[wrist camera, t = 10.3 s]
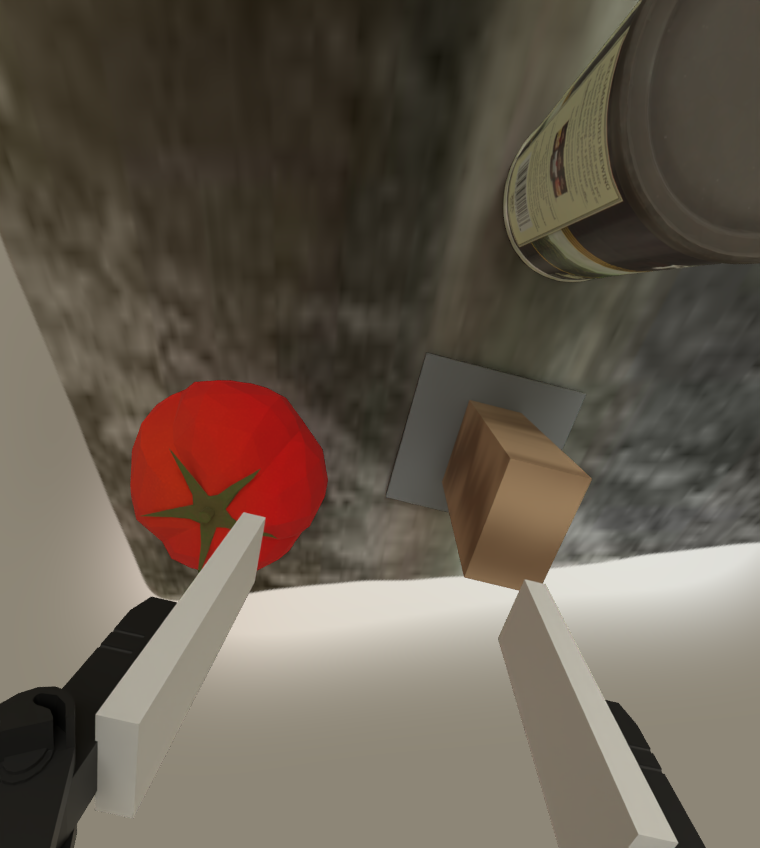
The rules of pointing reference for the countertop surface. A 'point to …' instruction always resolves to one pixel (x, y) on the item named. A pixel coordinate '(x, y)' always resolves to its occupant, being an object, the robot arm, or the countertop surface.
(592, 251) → the coffee can
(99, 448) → the countertop surface
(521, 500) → the tan rectangular block
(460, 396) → the rubber mat
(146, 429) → the tomato
